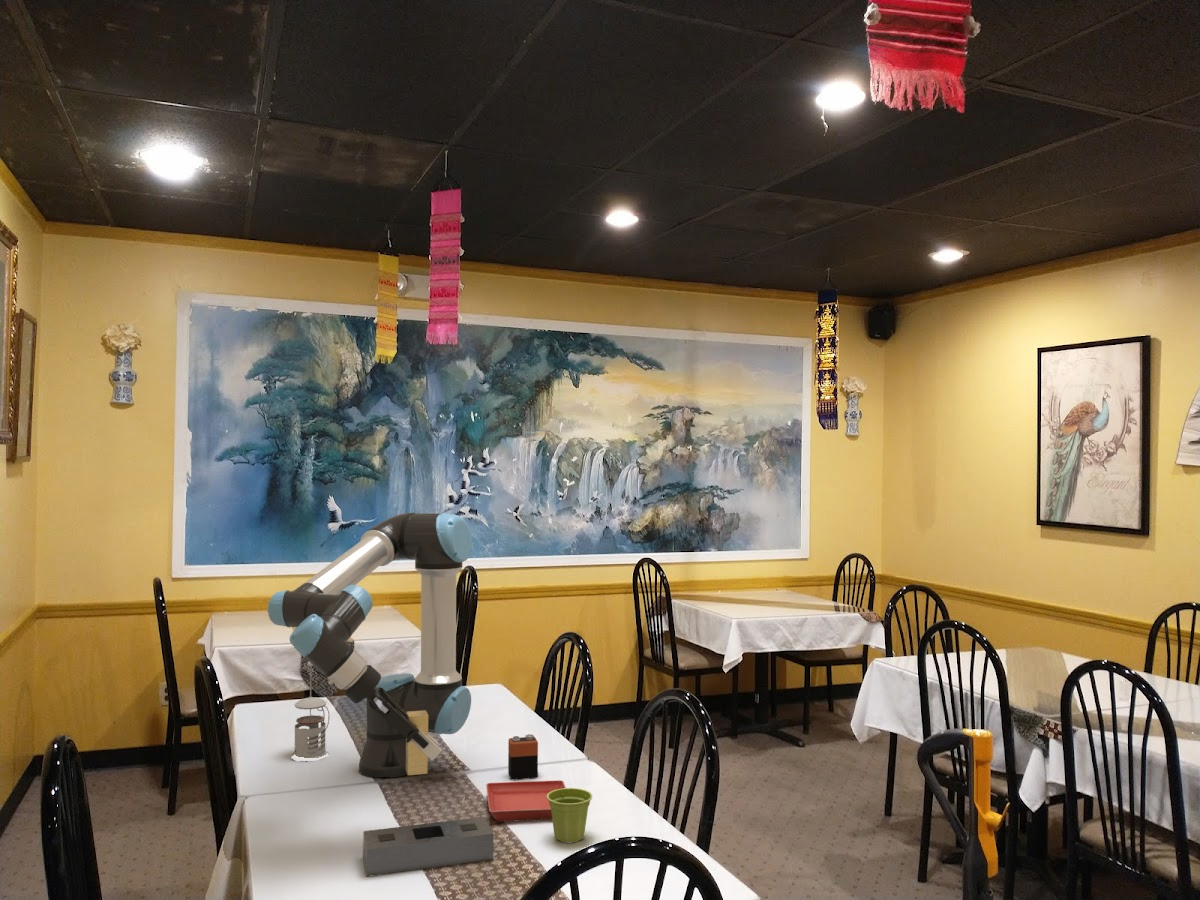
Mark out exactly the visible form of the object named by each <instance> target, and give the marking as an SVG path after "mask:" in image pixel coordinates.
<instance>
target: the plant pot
mask: <svg viewBox="0 0 1200 900" xmlns="http://www.w3.org/2000/svg"><path fill="white" fill-rule="evenodd" d="M547 799H548V800H549V805H550V807H551V812H552V819H551V820H552V826H553V827H552V828H553V833H554V839H555V840H556V841H560V842H561V843H565V844H567V843H569V844H570V843H572V844H573V843H577V842H579V841H580V840H583V839H584V838H585V833H586V824H587V818H588V817H587V816H588V810H589V806H590V803H591V800H592V799H593V794H592V793H591V792H590V791H588V790H586V789H582V788H575V787H566V788H562V789H557V790H553V791H551V792H549V793H548V794H547Z"/></svg>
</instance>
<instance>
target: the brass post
mask: <svg viewBox="0 0 1200 900" xmlns="http://www.w3.org/2000/svg"><path fill="white" fill-rule="evenodd" d="M407 719H408V720H409V721H410V722H411V723H412V724H413V725H414V726H415V727H416V728H418V729H420V730H421V731H422V732H423V733H424V734H425V735H426V736H427V737H428V734H429V732H428V714H427V712H426V710H424V711H409V712H407ZM406 740H407V739H406ZM428 762H429V757H428V756H427V755H426V754H424V753H423V752H422V751H421V750H420V749H419V748H418V747H417V746H416V745H415V744H414V743H413V742H412V741H410V742H409V743H407V742H406V772H407V775H406V776H416V775H426V774H427V775H428V770H429V769H428V764H429V763H428Z"/></svg>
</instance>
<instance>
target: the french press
mask: <svg viewBox="0 0 1200 900" xmlns="http://www.w3.org/2000/svg"><path fill="white" fill-rule="evenodd" d="M306 666H308V667H310V668H309V670H310V672H309V673H310V675H309V676H310V677H309V678H310V682H309V684H310V685H309V686H310V687H309V689H310V690H309V697H305V698H301V699H300V700H298V701H297V702H295V703H294V707H295V708H296V709H299V710H309V715H304V716H300V717H298V718H296V724H295V725H294V747H293V748H294V753H293V754H295V755H296V756H298V757H304V758H319V757H322V756H324V755H326V754H327V753H329V752H328V751H327V750H326V730H327V729H328V727H329V724H330V716H328V720H327V721H328V722H327V724H326V722H325V715H326V713H325V710H324V708H326V710H327V713H328V715H330V711H329V708H328V707H327V706H326V705H327V704H328V703H327V701H326V700H325V699H323V698H320V697H316V696H315V697H313V696H312V667H314V666H313V665H312V664H311V663H310V662H309V661H308V662H307V665H306ZM312 710H317V711H318V712H323V715H313V714H312ZM319 723H320V727H319ZM301 727H307V728H301Z"/></svg>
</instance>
